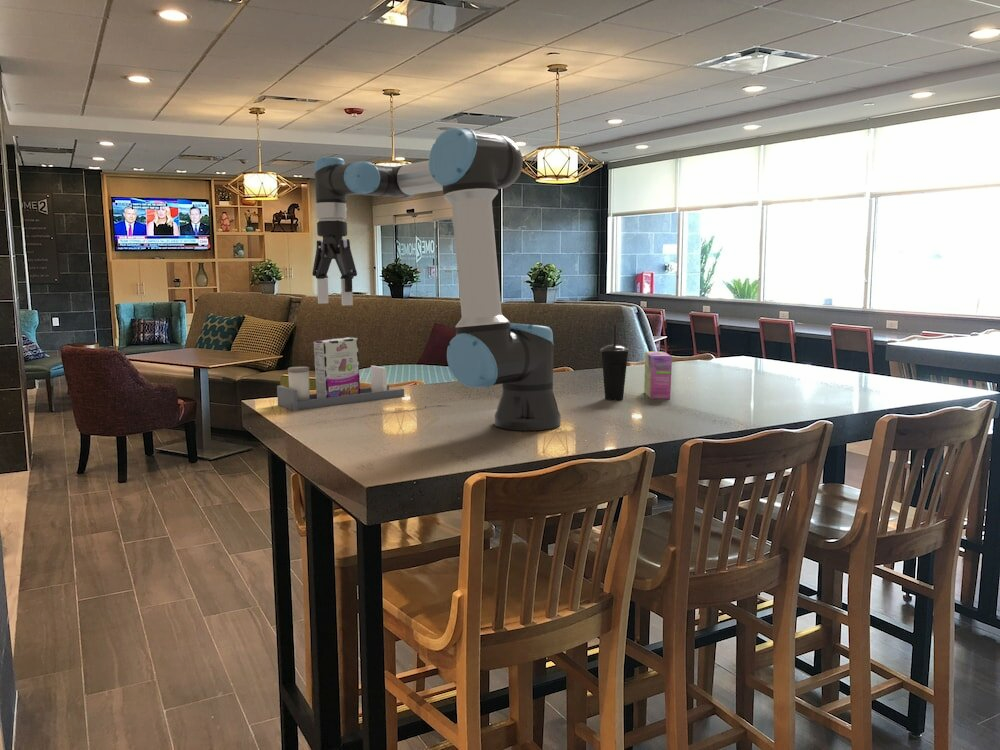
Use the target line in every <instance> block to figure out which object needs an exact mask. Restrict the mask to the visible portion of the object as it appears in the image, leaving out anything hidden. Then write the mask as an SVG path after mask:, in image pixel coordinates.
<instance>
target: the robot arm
mask: <svg viewBox="0 0 1000 750" xmlns="http://www.w3.org/2000/svg"><path fill="white" fill-rule="evenodd" d="M523 161H524V160H523V155H522V152H521V150H520V148H519V146H518V145H517V144H516V142H515V141H513V140H512V139H511V138H509V137H508V136H506V135H502V134H499V133H493V132H492V133H491V132H485V131H481V130H474V129H471V128H467V127H465V128H457V127H453V128H449V129H448V128H447V129H446V130H444V131H443V132H442V133H440V134H439V135H438V136H437V137H436V140H435V141H434V143H433V144H432V146H431V148H430V151H429V156H428V160H423V161H418V162H413V163H407V164H404V165H403V164H402V165H398V166H390V165H389V166H388V165H378V164H373V163H372V162H371V161H368V160H367V161H366V160H365V161H360V160H359V161H354V162H350V163H346V162H345V159H343V158H341V157H338V156H337V157H334V156H332V157H331V156H327V157H326V156H325V157H322V156H321V157H318V158H316V159H315V161H314V174H313V176H314V188H315V200H316V202H315V211H316V212H315V214H316V219H317V220H318V221H317V222H316V232H317V233H316V234H317V236H318V237H322V240H316V250H315V256H314V262H313V267H312V276H314V277H315V279H316V283H317V285H316V287H317V289H316V290H317V304H319V305H321V304H330V303H329V302H330V301H329V298H330V297H329V276H328V272H329V270H330V269H329V268H330V265H331V263H332V260H333V259H334V260H335V262H336V266H337V268H338V270H339V272H340V274H341V276H340V291H341V306H353V305H354V300H353V299H354V297H353V296H354V295H353V293H354V292H353V279H354V277H358V276H357V275H358V272H357V268H356V264H355V261H354V258H353V254H352V249H351V243H350V239H348V238H343V237H347V236H348V223H347V221H345V220H346V219H347V218H348V217H347V216H348V215H347V212H348V208H347V196H353V195H354V196H355V195H356V196H359V195H360V196H361V195H362V196H376V197H389V198H397V199H407V198H408V199H409V198H413V197H414V196H416V195H419V194H426V193H427V194H428V193H432V192H441V191H442V195H443V198H444V199H445V200H446V201H447V202H448V203H449V204H450V205H451V215H452V224H453V226H452V227H453V235H454V236H453V237H454V247H455V258H456V259H455V260H456V269H457V270H456V271H457V278H458V280H457V281H458V289H459V290H458V291H459V301H460V310H461V311H460V313H461V318H460V319H459V321H458V322H457V324H456V325H455V336H453V338H451V340H450V341H449V345H447V350H446V361H447V365H448V368H449V370H450V372H451V374H452V375H453V377H454V378H455V379H456V380H457V381H458V383H460V384H462V385H463V386H464V387H468V388H470V389H479V388H480V389H481V388H482V389H483V388H486V389H487V388H490V387H493V386H496V385H497V386H498V385H502V386H501V394H500V398H499V401H498V404H497V407H496V411H495V412H494V426H496V427H498V428H500V429H504V430H511V431H527V432H528V431H532V432H533V431H544V430H551V429H556V428H558V427H559V426H561V413H560V411H559V408H558V407H559V406H558V404H557V399H556V397H555V394H554V346H555V344H554V334H553V330H552V328H551V327H549V326H545V325H539V324H527V323H526V324H525V323H515V322H514V323H513V322H510V320H508V318H507V317H505V316H504V315H503V313H502V301H501V291H500V278H499V269H498V258H497V246H496V237H495V233H496V232H495V225H494V223H495V222H494V213H493V200H494V199H495V198H496V196H497V195H498V194H499V189H504V188H505V189H506V188H508V187H510V186H511V185H513V184H514V183H516V182H517V180H518V178H519V177H520V175H521V172H522V170H523V164H524V163H523Z"/></svg>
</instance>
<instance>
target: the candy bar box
mask: <svg viewBox="0 0 1000 750" xmlns="http://www.w3.org/2000/svg"><path fill="white" fill-rule="evenodd" d="M358 339H359V338H358V337H341V338H340V337H338V338H330V339H323V340H314V341H313V357H314V369H315V370H314V373H315V374H314V375H315V376H314V377H315V391H316V393H315V394H316V395H317V399H320V398H329V397H337V396H345V395H354V394H360V388H361V384H360V383H361V381H360V380H361V379H360V361H359V340H358Z"/></svg>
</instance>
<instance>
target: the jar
mask: <svg viewBox="0 0 1000 750" xmlns="http://www.w3.org/2000/svg"><path fill="white" fill-rule="evenodd" d="M287 372H288V375H287V376H288V388H291V389H294V390H297V401H304V400H310V394H311V393H310V367H309V366H291V367H288V368H287Z"/></svg>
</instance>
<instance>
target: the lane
mask: <svg viewBox="0 0 1000 750" xmlns="http://www.w3.org/2000/svg"><path fill="white" fill-rule="evenodd" d="M276 393H277V394H276V395H277V406H279V407H282V408H284V409H287V410H290V411H294V412H295V411H296V412H297V411H303V410H310V409H311V410H312V409H321V408H327V407H328V408H329V407H337V406H343V405H350V404H356V403H357V404H360V403H367V402H376V401H383V400H390V399H391V400H392V399H399V398H405V397H406V396H405V389H404V388H398V389H397V388H396V389H390V385H389V384H388V385H387V391H379V392H372V391H371V386H370V387H360V394H354V395H345V396H337V397H329V398H320V399H317V395H316V393H310V400H304V401H297V390H294V389H291V388H289V386H288V387H286V386H284V385H277V386H276Z"/></svg>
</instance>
